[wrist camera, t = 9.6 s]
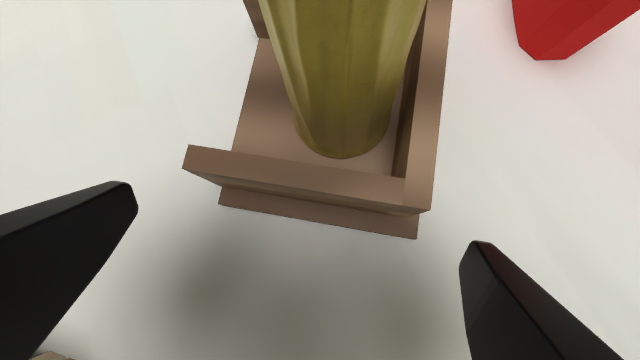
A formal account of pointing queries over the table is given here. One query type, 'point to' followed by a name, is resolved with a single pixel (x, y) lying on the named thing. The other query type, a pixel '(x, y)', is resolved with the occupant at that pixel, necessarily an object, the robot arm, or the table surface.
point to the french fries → (566, 24)
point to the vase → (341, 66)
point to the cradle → (327, 172)
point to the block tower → (50, 356)
